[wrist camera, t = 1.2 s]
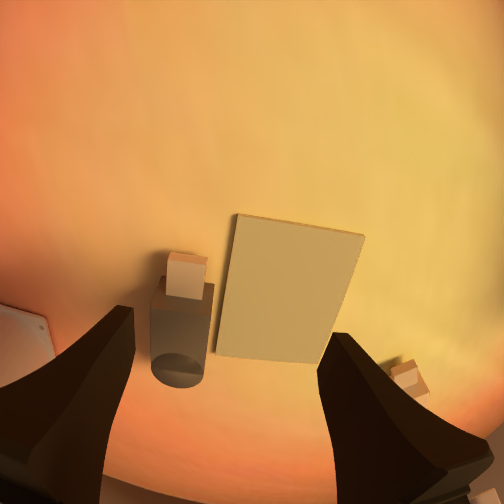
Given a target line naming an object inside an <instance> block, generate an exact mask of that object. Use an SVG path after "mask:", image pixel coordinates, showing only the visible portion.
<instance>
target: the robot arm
mask: <svg viewBox="0 0 504 504" xmlns="http://www.w3.org/2000/svg"><path fill="white" fill-rule="evenodd" d="M135 350H136V348H135V331H134V309H133V308H131V307H126V306H120V305H117V306H115V307H114V308H113V309H112V310H111V311H110V312H109V313H108V314H107V315H105V316H104V317H103V318H102V319H101V320H100V321H99V322H98V323H97V324H96V325H95V326H94V327H92V328H91V329H90V330H89V331H88V332H87V333H86V334H84V335H83V336H82V337H81V338H80V339H79V340H77V341H76V342H75V343H74V344H72V345H71V346H70V347H69V348H67V349H66V350H65V351H64V352H62V353H61V354H60V355H58V356H57V357H56V355H55V351H54V348H53V344H52V340H51V336H50V332H49V328H48V324H47V321H46V319H45V318H44V317H43V316H40V315H36V314H32V313H29V312H25V311H21V310H18V309H15V308H11V307H8V306H4V305H1V304H0V504H99V498H100V488H101V481H102V473H103V467H104V460H105V454H106V449H107V444H108V439H109V434H110V430H111V426H112V423H113V420H114V417H115V414H116V411H117V408H118V406H119V403H120V400H121V397H122V394H123V392H124V389H125V386H126V383H127V381H128V378H129V375H130V372H131V367H132V363H133V359H134V355H135ZM317 377H318V387H319V394H320V398H321V402H322V406H323V410H324V414H325V418H326V422H327V426H328V430H329V434H330V438H331V442H332V447H333V453H334V462H335V471H336V484H337V504H501V503H500V500H499V498H498V495H497V493H496V490H495V489H494V488H492V489H490V490H488V491H486V492H483V493H481V494H479V495H477V496H475V497H473V498H471V499H470V500H468V497H467V494H469V493H470V491H471V490H470V487H469V485H468V484H470V483H471V482H472V481H473V480H475V479H476V478H477V477H478V476H480V475H481V474H482V473H483V472H484V471H485V470H487V469H488V468H489V467H490V465H491V464H492V463H493V461H494V455H493V453H492V451H491V449H490V447H489V445H488V443H487V441H486V440H484V439H482V438H479V437H477V436H474V435H472V434H470V433H467V432H465V431H463V430H461V429H459V428H457V427H455V426H453V425H451V424H450V423H448V422H446V421H445V420H443V419H441V418H440V417H438V416H437V415H435V414H434V413H432V412H431V411H429V410H428V409H426V408H425V407H423V406H422V405H421V404H419V403H418V402H417V401H416V400H414V399H413V398H412V397H411V396H409V395H408V394H407V393H406V392H405V391H404V390H402V389H401V388H400V387H399V386H398V385H397V384H396V383H395V382H394V381H393V380H392V379H391V378H390V377H389V376H388V375H387V374H386V373H385V372H384V371H383V370H382V369H381V368H380V367H379V366H378V365H377V364H376V363H375V362H374V361H373V360H372V358H371V357H370V356H369V355H368V354H367V353H366V352H365V351H364V350H363V349H362V347H361V346H360V345H359V344H358V343H357V342H356V341H355V340H354V339H353V338H352V337H351V336H350V335H349V334H348V333H337V332H333V333H332V336H331V338H330V341H329V343H328V345H327V348H326V350H325V353H324V355H323V357H322V359H321V362H320V364H319V366H318V369H317Z"/></svg>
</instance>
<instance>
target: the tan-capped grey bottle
mask: <svg viewBox="0 0 504 504" xmlns="http://www.w3.org/2000/svg"><path fill="white" fill-rule="evenodd" d="M206 265H207V257H204V256H197V255H190V254H183V253H176V252H171V253H170V255H169V258H168V262H167V277H163V276H162V277H161V279H160V282H159V285H158V287H157V290H156V293H155V295H154V298H153V301H152V303H151V306H150V353H151V370H152V373H153V375H154V376H155V377H156V378H157V379H158V380H159V381H160V382H162V383H163V384H165V385H168V386H170V387H174V388H190V387H193V386H195V385H197V384H198V383H200V382H201V380H202V378H203V374H204V366H205V359H206V351H207V343H208V335H209V328H210V321H211V312H212V303H213V293H214V284H211V283H204V281H205V273H206Z"/></svg>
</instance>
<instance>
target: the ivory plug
mask: <svg viewBox="0 0 504 504" xmlns="http://www.w3.org/2000/svg"><path fill="white" fill-rule="evenodd" d="M390 369H391V375H390V376H389V377H390V378H391V379H392V380H393V381H394V382H395V383H396V384H397V385H398V386H399V387H400V388H401V389H402V390H404V391H405V392H406V393H407V394H408V395H409V396H411V397H412V398H413V399H414V400H416V401H417V402H418V403H419V404H421V405H422V406H423V407H425V408H426V409H428V404H429V395H430V391H429V389H428V387H427V386H426V384H425V382H424V380H423V378H422V376H421V374H420V372H419V371H418V366H417V365H416V363H415V361H414V359H412V360H410V361H407V362H405V363H402V364H400V365H397V366H395V367H393V368H390Z"/></svg>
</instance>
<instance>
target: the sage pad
mask: <svg viewBox="0 0 504 504" xmlns="http://www.w3.org/2000/svg"><path fill="white" fill-rule="evenodd" d="M364 240H365V236H364V235H363V234H358V233H352V232H347V231H341V230H336V229H330V228H324V227H318V226H313V225H307V224H301V223H295V222H289V221H283V220H277V219H270V218H264V217H258V216H251V215H245V214H238V217H237V223H236V229H235V235H234V240H233V246H232V252H231V258H230V264H229V270H228V276H227V282H226V288H225V294H224V301H223V307H222V313H221V319H220V326H219V332H218V338H217V345H216V351H215V355H218V356H226V357H235V358H245V359H255V360H266V361H278V362H292V363H309V364H317V363H318V361H319V359H320V356H321V354H322V352H323V349H324V347H325V345H326V342H327V340H328V337H329V335H330V332H331V330H332V328H333V325H334V323H335V320H336V317H337V315H338V312H339V310H340V307H341V305H342V302H343V299H344V297H345V294H346V291H347V289H348V286H349V283H350V280H351V278H352V275H353V272H354V269H355V266H356V263H357V260H358V258H359V255H360V252H361V249H362V246H363V243H364Z"/></svg>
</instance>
